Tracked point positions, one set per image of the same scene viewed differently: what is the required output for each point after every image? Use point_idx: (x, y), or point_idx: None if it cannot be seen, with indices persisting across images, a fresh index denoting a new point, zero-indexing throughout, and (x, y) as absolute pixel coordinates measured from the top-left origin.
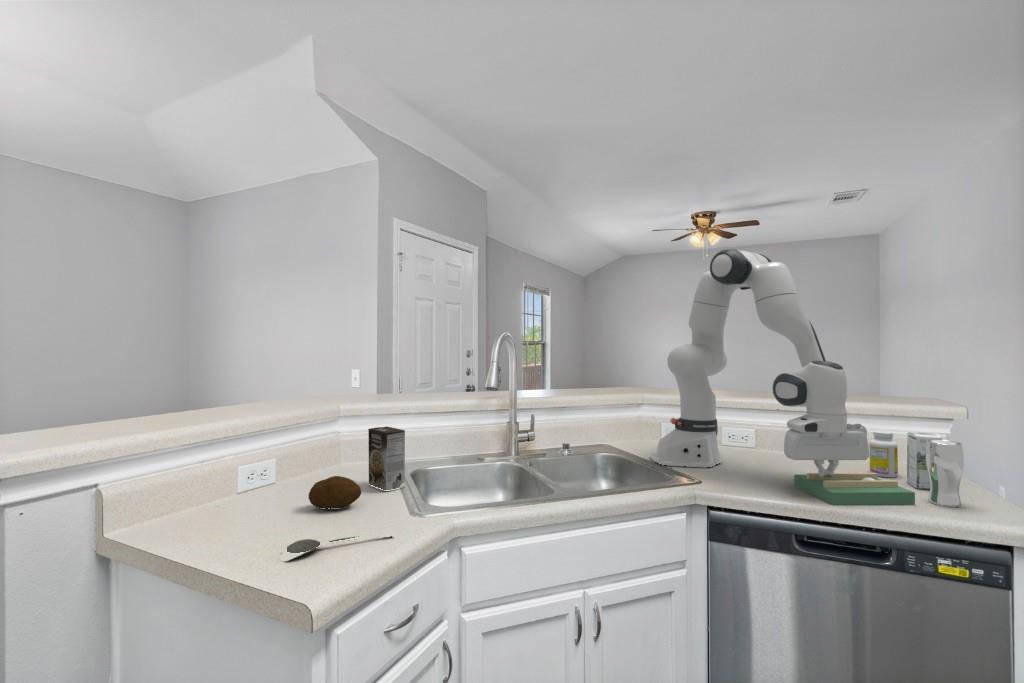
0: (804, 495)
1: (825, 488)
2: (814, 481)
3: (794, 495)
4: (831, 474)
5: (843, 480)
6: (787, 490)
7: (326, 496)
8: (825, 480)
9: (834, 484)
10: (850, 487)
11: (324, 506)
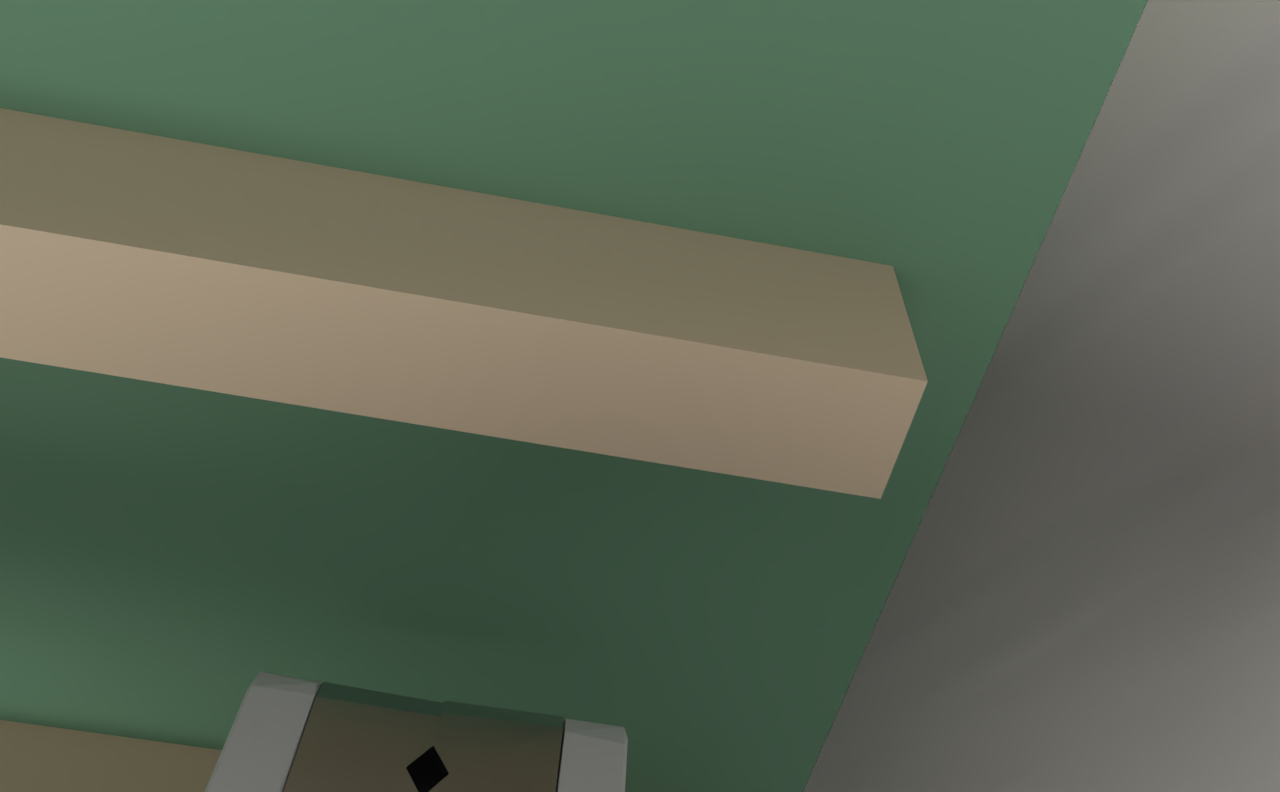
0: (1042, 441)
1: (990, 195)
2: (689, 714)
3: (1250, 477)
4: (312, 744)
5: (123, 373)
6: (1064, 700)
7: None
8: None
9: (590, 271)
10: (39, 113)
11: None
